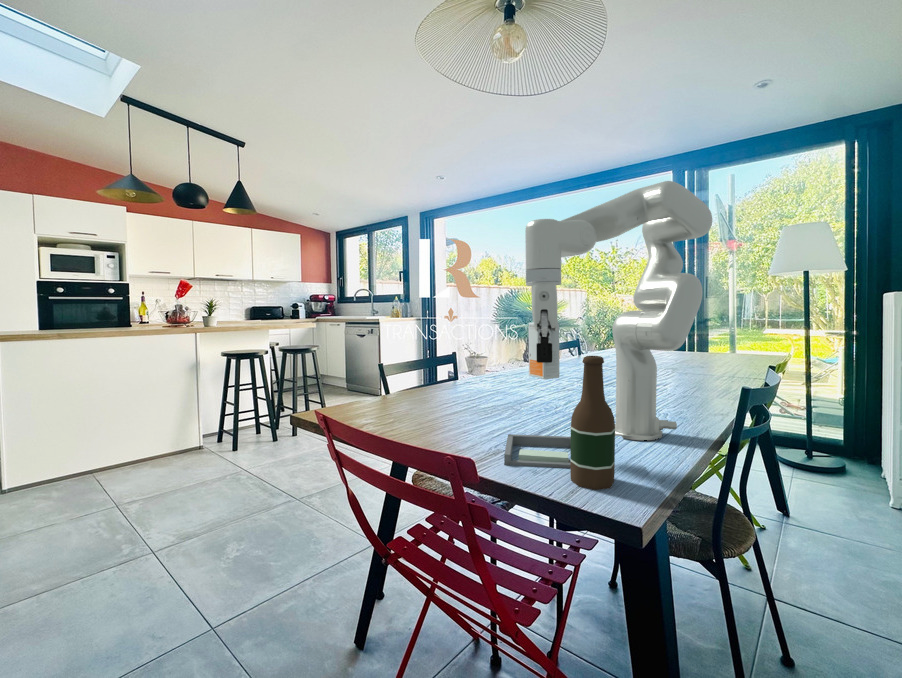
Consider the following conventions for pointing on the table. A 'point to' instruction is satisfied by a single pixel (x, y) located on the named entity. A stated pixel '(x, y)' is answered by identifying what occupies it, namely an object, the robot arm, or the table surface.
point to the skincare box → (534, 367)
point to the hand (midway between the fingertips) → (544, 359)
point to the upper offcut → (543, 456)
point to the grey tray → (535, 441)
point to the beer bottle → (593, 432)
